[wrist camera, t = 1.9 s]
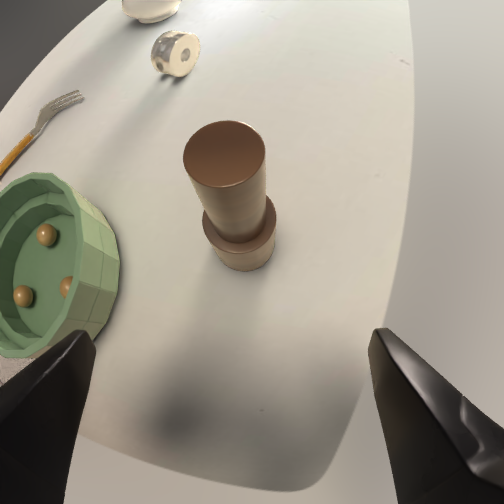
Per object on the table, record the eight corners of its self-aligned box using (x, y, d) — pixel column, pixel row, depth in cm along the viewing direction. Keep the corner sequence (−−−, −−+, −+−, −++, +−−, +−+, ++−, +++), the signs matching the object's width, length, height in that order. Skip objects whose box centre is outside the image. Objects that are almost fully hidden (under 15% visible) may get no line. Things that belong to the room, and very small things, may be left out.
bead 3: (88, 301, 22) (74, 297, 20) (69, 303, 22) (55, 300, 20) (86, 276, 22) (73, 271, 20) (68, 280, 22) (54, 275, 20)
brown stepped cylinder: (279, 265, 22) (292, 191, 11) (219, 276, 22) (170, 213, 11) (268, 210, 23) (268, 102, 12) (212, 220, 23) (167, 121, 12)
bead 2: (60, 246, 23) (47, 240, 21) (44, 250, 23) (31, 244, 21) (61, 225, 24) (48, 218, 22) (45, 230, 24) (33, 223, 22)
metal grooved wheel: (176, 85, 28) (164, 51, 23) (155, 80, 28) (142, 47, 23) (203, 58, 29) (195, 24, 24) (183, 54, 29) (173, 21, 24)
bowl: (132, 353, 21) (91, 357, 15) (10, 357, 21) (-33, 355, 15) (122, 185, 25) (90, 149, 19) (11, 220, 25) (-25, 199, 19)
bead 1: (37, 307, 22) (23, 305, 20) (23, 309, 22) (9, 306, 20) (37, 285, 22) (23, 281, 20) (23, 288, 22) (9, 284, 20)
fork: (-32, 211, 24) (78, 88, 26) (-36, 200, 24) (72, 80, 26) (-20, 214, 26) (85, 99, 29) (-25, 204, 26) (79, 91, 29)
